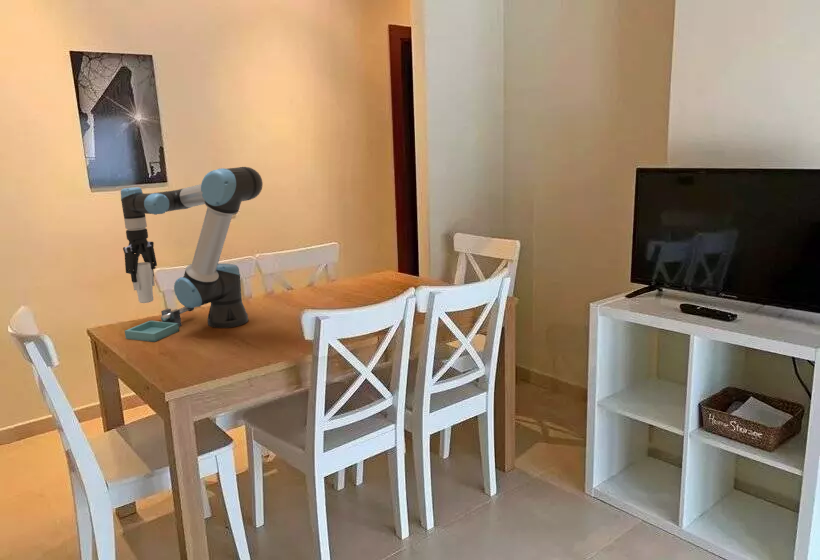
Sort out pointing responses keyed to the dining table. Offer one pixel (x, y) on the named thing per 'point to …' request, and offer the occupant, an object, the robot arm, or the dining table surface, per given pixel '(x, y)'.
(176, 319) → the pin mount
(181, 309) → the lock pin
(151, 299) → the drinking glass
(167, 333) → the teal square tray
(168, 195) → the robot arm
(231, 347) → the dining table surface
